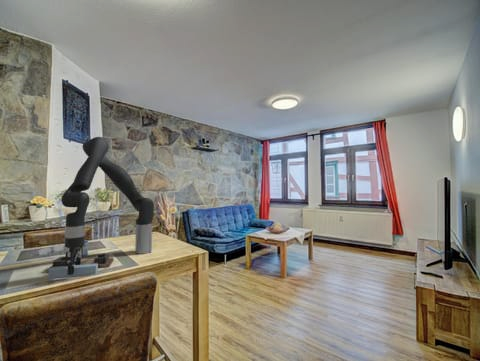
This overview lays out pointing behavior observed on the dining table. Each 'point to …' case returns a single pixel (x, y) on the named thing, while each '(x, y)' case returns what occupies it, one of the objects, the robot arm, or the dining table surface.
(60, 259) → the endcap board
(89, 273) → the grey long block
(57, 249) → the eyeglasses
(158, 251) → the dining table surface
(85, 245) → the medicine box
